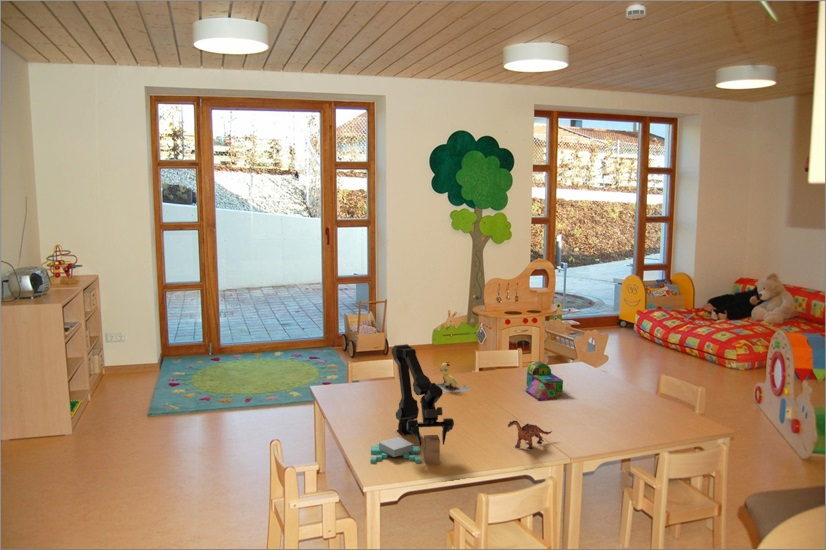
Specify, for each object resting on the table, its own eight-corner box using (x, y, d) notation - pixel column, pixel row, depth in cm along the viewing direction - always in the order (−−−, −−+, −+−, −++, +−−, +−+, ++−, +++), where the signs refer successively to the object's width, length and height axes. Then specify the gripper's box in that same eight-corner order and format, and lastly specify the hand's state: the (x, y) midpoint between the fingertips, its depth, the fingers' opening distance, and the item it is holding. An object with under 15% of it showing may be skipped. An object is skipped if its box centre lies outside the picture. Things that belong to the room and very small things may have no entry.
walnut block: (423, 458, 266) (424, 435, 264) (437, 458, 267) (437, 434, 265) (425, 464, 260) (426, 440, 259) (439, 464, 261) (439, 440, 260)
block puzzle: (517, 386, 365) (518, 362, 363) (545, 384, 369) (546, 360, 367) (538, 401, 341) (539, 374, 339) (567, 398, 346) (568, 372, 344)
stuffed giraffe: (430, 385, 365) (432, 357, 363) (460, 383, 371) (462, 356, 368) (440, 395, 350) (441, 366, 347) (471, 393, 355) (473, 364, 353)
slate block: (398, 443, 278) (398, 436, 277) (413, 451, 270) (413, 444, 270) (379, 449, 272) (379, 442, 271) (393, 457, 264) (393, 449, 264)
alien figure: (420, 464, 262) (418, 445, 282) (420, 459, 262) (418, 440, 282) (370, 464, 262) (371, 445, 281) (370, 459, 261) (371, 440, 281)
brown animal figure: (499, 454, 271) (500, 419, 269) (537, 434, 294) (538, 402, 292) (517, 460, 266) (518, 424, 264) (553, 439, 288) (555, 406, 286)
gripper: (407, 400, 264) (410, 437, 254) (453, 399, 266) (458, 435, 257) (405, 412, 272) (408, 448, 263) (449, 411, 275) (454, 446, 265)
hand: (432, 444), depth 262 cm, fingers open, 9 cm apart
